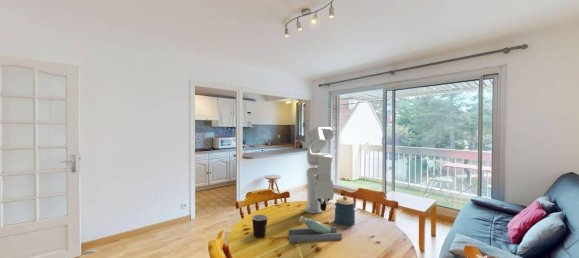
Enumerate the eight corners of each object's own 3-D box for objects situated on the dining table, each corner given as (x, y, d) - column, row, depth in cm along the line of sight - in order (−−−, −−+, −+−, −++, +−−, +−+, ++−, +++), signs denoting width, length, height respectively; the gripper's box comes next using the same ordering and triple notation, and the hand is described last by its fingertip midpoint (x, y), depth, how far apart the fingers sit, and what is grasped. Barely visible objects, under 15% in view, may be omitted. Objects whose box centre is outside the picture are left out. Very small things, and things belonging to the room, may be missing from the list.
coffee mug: (260, 240, 128) (261, 221, 128) (248, 236, 132) (248, 218, 132) (273, 232, 138) (273, 215, 137) (261, 228, 142) (261, 212, 142)
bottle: (324, 233, 135) (297, 220, 132) (328, 225, 135) (301, 212, 132) (327, 238, 130) (299, 224, 127) (331, 229, 130) (303, 216, 127)
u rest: (288, 236, 133) (288, 229, 133) (335, 233, 138) (336, 226, 138) (291, 244, 124) (291, 236, 124) (341, 240, 129) (341, 233, 129)
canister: (359, 224, 151) (360, 197, 151) (344, 229, 144) (344, 200, 144) (344, 217, 162) (345, 192, 162) (330, 221, 155) (330, 194, 155)
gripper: (312, 179, 126) (312, 213, 127) (339, 178, 129) (338, 212, 129) (309, 176, 134) (308, 208, 134) (334, 175, 136) (333, 207, 137)
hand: (323, 210), depth 132 cm, fingers closed
